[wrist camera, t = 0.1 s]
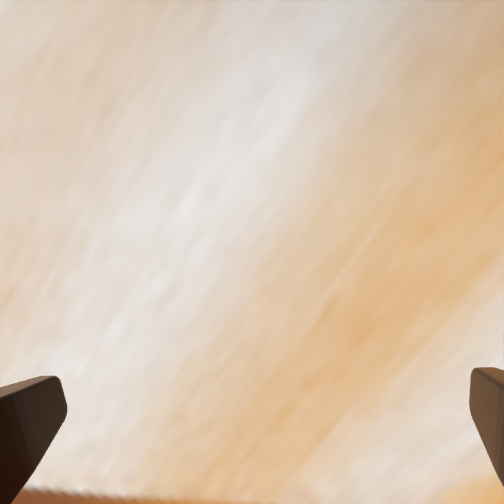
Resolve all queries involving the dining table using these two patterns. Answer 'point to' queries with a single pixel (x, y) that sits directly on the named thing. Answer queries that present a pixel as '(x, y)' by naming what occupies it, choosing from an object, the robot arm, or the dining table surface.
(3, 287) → the dining table surface
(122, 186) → the dining table surface
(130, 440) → the dining table surface
